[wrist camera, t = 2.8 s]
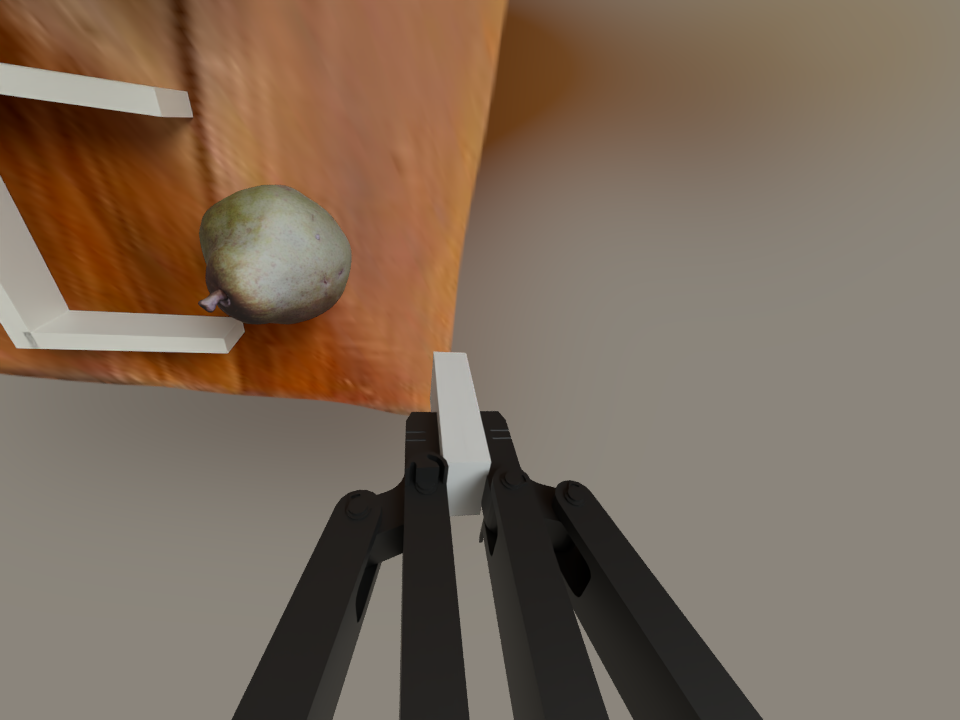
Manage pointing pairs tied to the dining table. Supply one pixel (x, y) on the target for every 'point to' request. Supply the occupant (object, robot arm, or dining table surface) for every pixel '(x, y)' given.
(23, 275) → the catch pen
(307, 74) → the dining table surface
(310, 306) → the fruit
